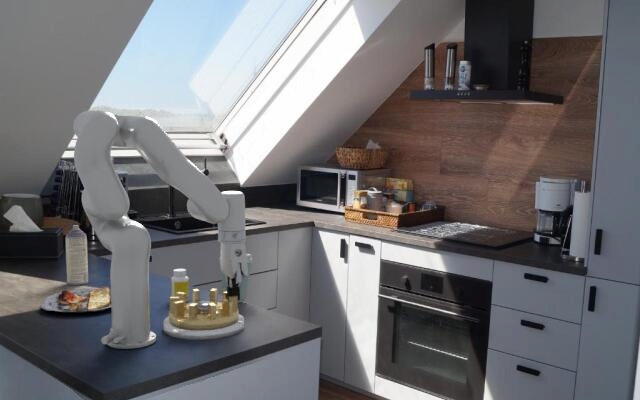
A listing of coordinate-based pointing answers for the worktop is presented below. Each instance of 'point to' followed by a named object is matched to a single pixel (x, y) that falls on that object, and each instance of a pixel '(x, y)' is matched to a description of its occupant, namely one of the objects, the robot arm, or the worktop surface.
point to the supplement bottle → (179, 283)
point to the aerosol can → (76, 257)
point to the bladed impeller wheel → (203, 311)
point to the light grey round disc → (203, 331)
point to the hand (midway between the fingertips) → (233, 299)
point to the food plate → (79, 300)
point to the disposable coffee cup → (244, 279)
